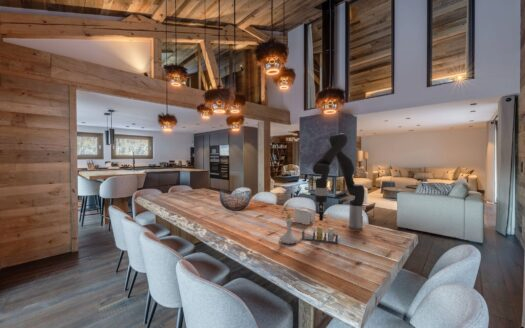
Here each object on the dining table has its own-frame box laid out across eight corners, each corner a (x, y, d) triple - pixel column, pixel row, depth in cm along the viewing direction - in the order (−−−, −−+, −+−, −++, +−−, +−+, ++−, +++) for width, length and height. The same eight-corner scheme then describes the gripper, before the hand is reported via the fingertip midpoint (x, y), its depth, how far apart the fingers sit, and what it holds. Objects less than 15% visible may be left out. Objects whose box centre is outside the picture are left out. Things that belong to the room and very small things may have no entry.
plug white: (333, 238, 148) (333, 228, 148) (333, 240, 144) (334, 229, 144) (327, 238, 149) (328, 227, 148) (327, 240, 145) (328, 229, 145)
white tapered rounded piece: (285, 237, 152) (285, 200, 151) (300, 241, 146) (301, 202, 145) (274, 243, 142) (275, 203, 141) (291, 248, 135) (291, 206, 134)
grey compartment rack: (337, 240, 148) (337, 231, 148) (337, 243, 143) (337, 234, 142) (302, 236, 154) (303, 228, 154) (302, 239, 148) (302, 231, 148)
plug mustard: (322, 237, 150) (322, 227, 149) (322, 239, 146) (322, 228, 146) (316, 237, 150) (317, 226, 150) (316, 239, 147) (316, 228, 147)
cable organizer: (315, 223, 185) (316, 209, 184) (308, 226, 177) (308, 211, 177) (300, 219, 196) (300, 206, 195) (293, 222, 188) (293, 208, 188)
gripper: (327, 196, 141) (327, 222, 142) (326, 192, 155) (326, 216, 156) (314, 196, 143) (314, 221, 144) (315, 192, 157) (315, 215, 158)
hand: (321, 218), depth 150 cm, fingers open, 8 cm apart
